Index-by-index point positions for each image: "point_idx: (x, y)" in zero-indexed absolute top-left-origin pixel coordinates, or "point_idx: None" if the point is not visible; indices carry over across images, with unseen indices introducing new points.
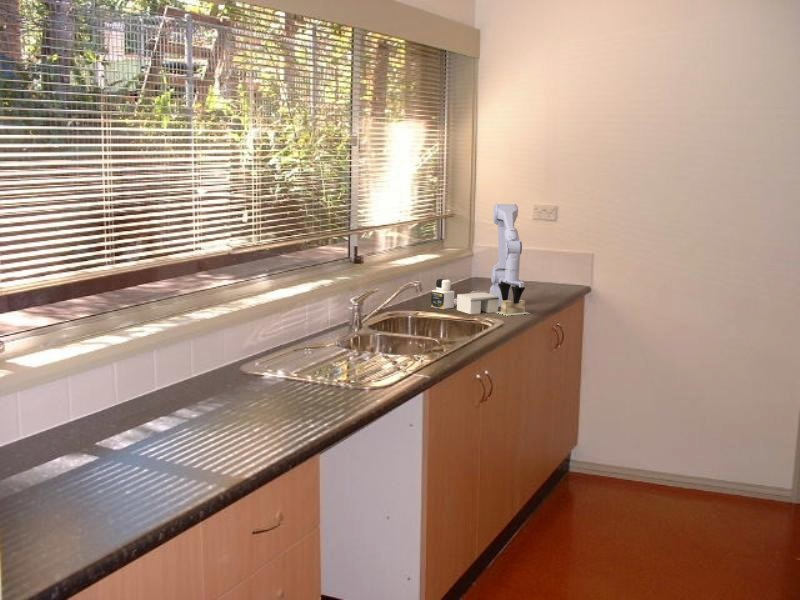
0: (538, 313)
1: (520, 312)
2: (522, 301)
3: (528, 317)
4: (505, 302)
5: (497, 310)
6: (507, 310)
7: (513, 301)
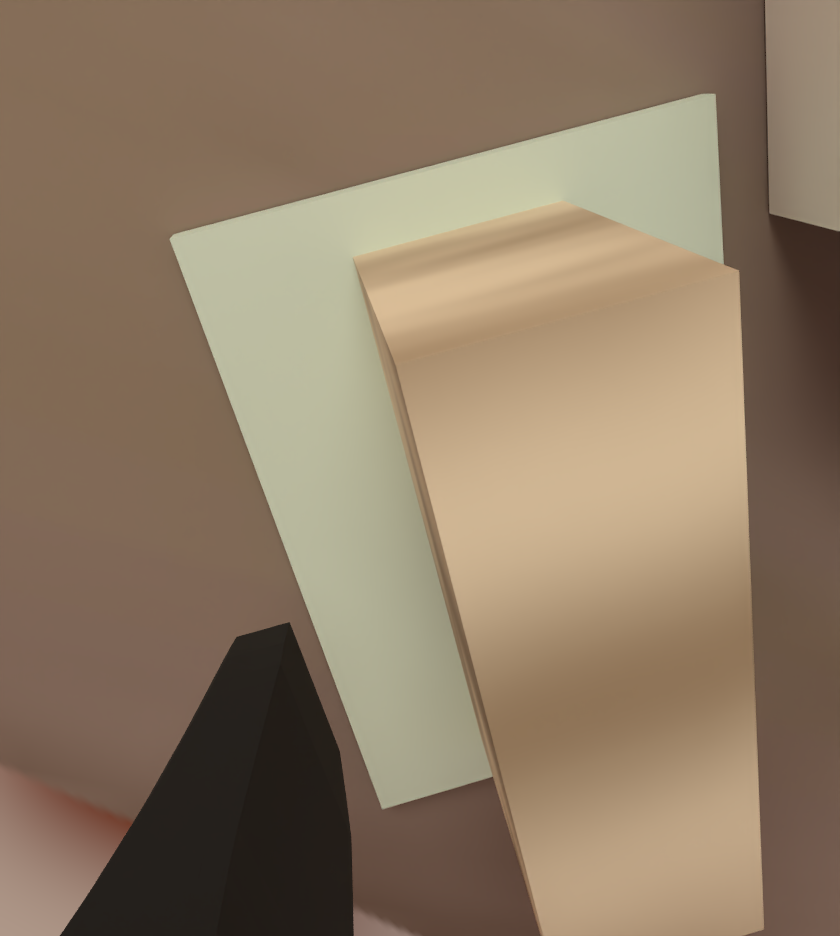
0: (436, 916)
1: (462, 665)
2: (538, 916)
3: (12, 683)
4: (426, 349)
5: (793, 203)
6: (380, 351)
7: (278, 658)
